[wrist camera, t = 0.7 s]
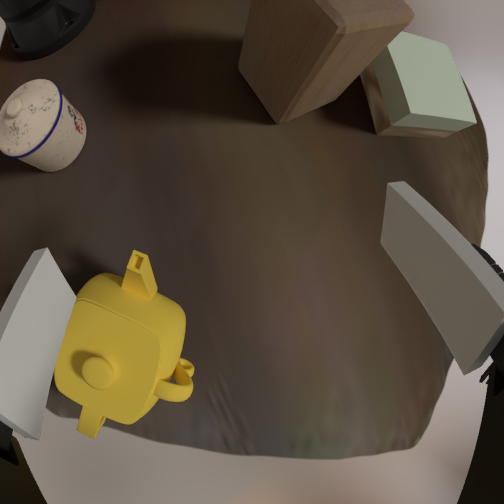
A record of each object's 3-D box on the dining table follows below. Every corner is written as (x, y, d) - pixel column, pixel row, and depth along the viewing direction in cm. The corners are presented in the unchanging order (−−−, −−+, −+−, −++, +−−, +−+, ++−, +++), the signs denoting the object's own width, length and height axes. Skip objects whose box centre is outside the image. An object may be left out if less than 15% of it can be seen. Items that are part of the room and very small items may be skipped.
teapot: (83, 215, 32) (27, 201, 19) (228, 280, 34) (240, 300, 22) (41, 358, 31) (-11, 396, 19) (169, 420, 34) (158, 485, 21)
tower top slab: (364, 43, 32) (378, 25, 28) (430, 57, 34) (447, 45, 30) (390, 125, 33) (410, 113, 28) (456, 131, 35) (476, 122, 30)
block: (234, 69, 34) (259, -49, 14) (296, 46, 35) (350, -55, 15) (275, 129, 35) (340, 28, 15) (337, 101, 36) (422, 16, 16)
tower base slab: (352, 58, 37) (365, 43, 32) (417, 69, 38) (432, 57, 34) (375, 135, 37) (392, 125, 33) (439, 139, 39) (457, 131, 35)
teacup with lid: (102, 131, 32) (65, 89, 20) (55, 188, 31) (2, 168, 20) (54, 87, 30) (16, 46, 19) (11, 138, 30) (-36, 111, 18)
